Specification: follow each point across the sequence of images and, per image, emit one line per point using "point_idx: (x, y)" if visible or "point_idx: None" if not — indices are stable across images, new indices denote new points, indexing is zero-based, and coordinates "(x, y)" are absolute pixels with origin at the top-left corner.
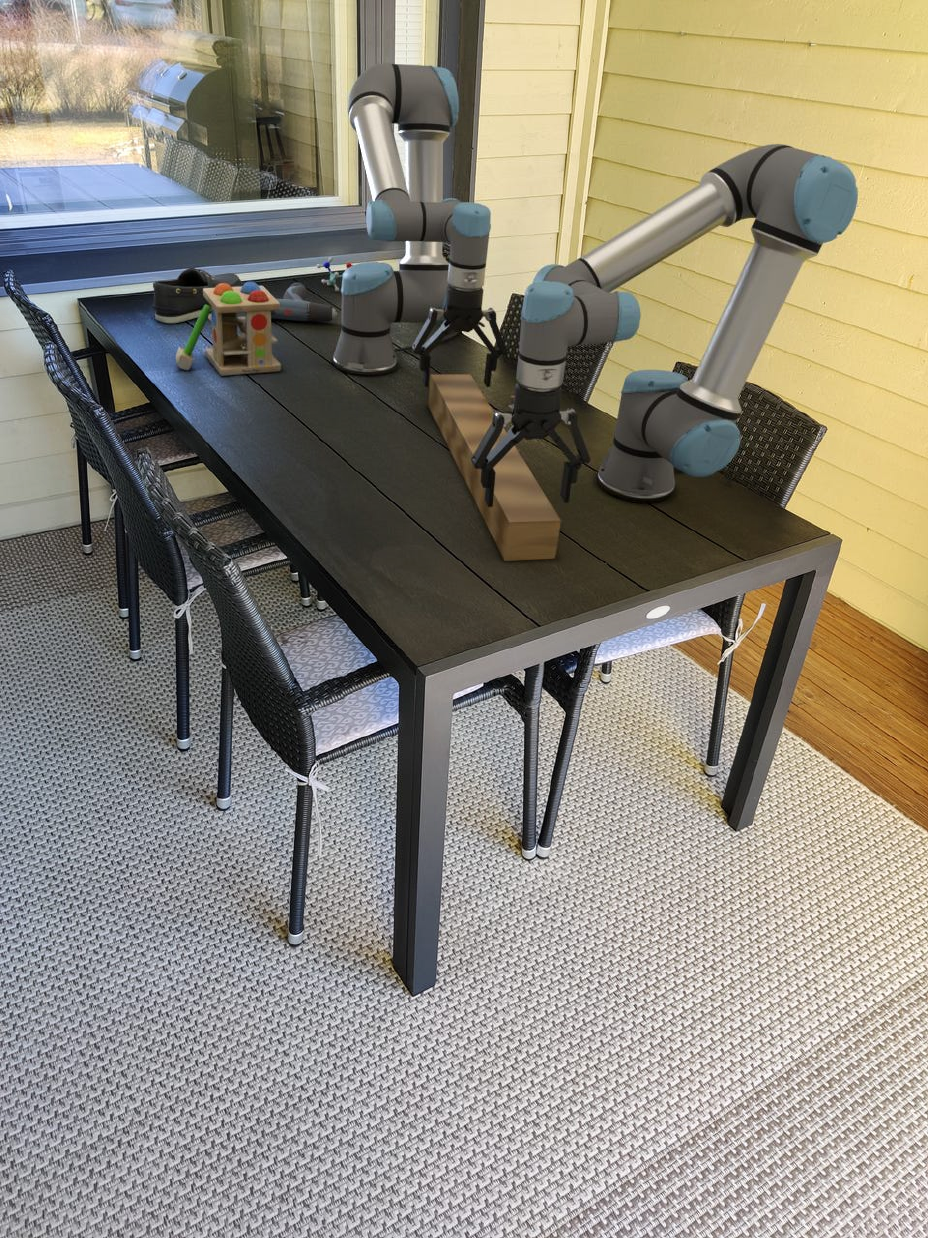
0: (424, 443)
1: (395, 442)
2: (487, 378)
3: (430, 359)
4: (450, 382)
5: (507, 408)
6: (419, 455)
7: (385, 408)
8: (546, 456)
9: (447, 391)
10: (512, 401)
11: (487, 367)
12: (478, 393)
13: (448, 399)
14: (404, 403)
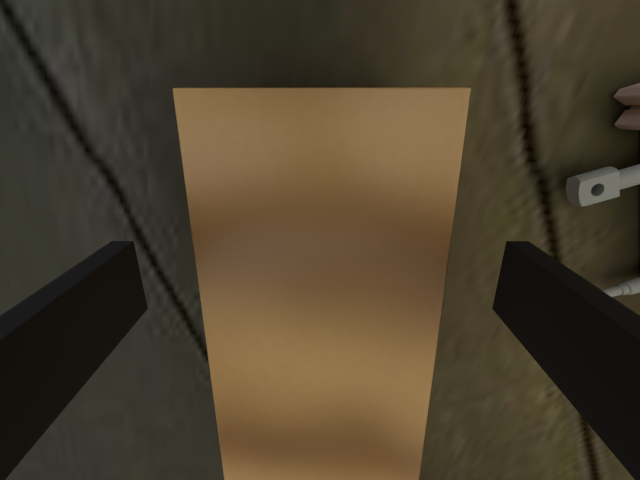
0: (188, 399)
1: (100, 391)
2: (519, 338)
3: (14, 467)
4: (290, 239)
5: (570, 180)
6: (169, 459)
7: (40, 113)
8: (521, 475)
9: (250, 359)
10: (636, 102)
11: (570, 359)
12: (411, 384)
13: (240, 442)
14: (122, 53)
